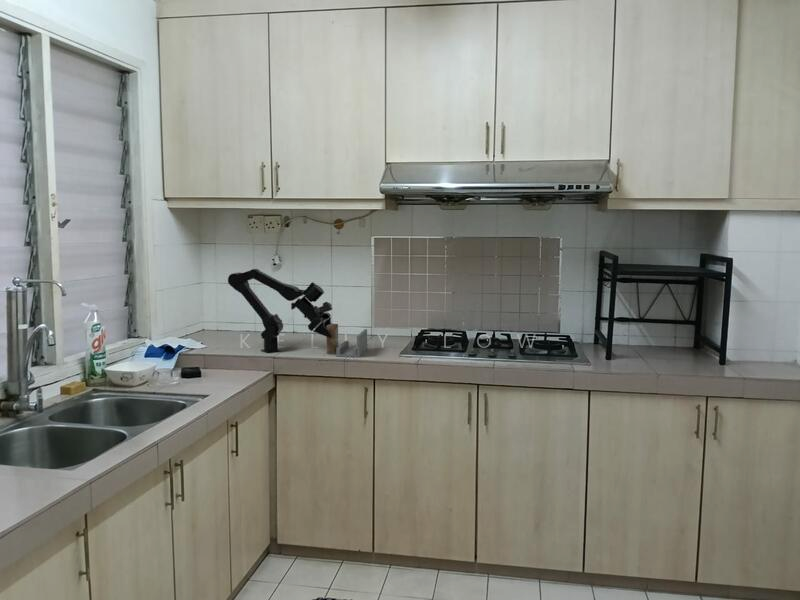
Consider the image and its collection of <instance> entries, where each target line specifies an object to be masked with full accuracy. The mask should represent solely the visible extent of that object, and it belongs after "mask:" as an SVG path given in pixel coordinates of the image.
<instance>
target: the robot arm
mask: <svg viewBox="0 0 800 600" xmlns="http://www.w3.org/2000/svg"><path fill="white" fill-rule="evenodd" d="M251 280H256V282H259V283H261V284H263V285H265V286H266V287H269V288H271V289H272V290H273V291H276V292H277V293H278V294H279V295H280V296H281V297H283V299H285V300H287V301H289V302H291V301H295V302H292V303H290V305H291V306H290V309H291V310H294V309H296V308H297V310H298V311H299V312H300V313H302V315H303V318H304V319H308V321H309V322H310V323H309V324H308V325H307V328H308V330H309V331H311V332H312V331H313V333H316V334H319V335H322V336H323V337H329V338H331V337H332V336H331V334H330V333H329V331H328V330H327V325H329V324H333V323H332V315H331V313H330V311H331V310H333V307H332V305H333V304H332V303H330V302H328V301H325V302H323V303H322V306H319V307H318V306H317V305H314V304H313V302H314V303H316V302H317V301H318V300H319V298H320V297H322V296H323V294H325V291H324V290H323V288H322V287H321V286H320V285H318V284H316V283H315V282H314V281H312V282H311V283H310V284H309V285H308V286H307V287H306V289H300V288H299V287H297V286H295V285H292V284H289V283H285V282H281V280H278V279H276V278H274V277H272V276H270V275H268V274H266V273H265V272H263V271H261V270H260V269H258V268H253V269H250V270H247V271H245V272H240V271H239V272H235V273H230V274H229V275H228V278H227V283H228V285H229V286H231V287H232V288H233V289H234V290H235V291H237V292H238V293H240V294H241V295H242V297H243V298H244V299H245V300H246V301H247V303H248V304H249V305H250V307H252V309H253V310H254V311H255V313H256V314H257V316H258V317H259V318H260V319H261V321H262V325H263V327H264V330H263V331H262V332H261V333H260V336H261V339H263V348H262V349H260V351H261V352H264V353H268V354H269V353H275V352H276V351H277V352H281V351H282V349H279V342H278V341H279V340H278V336H279V335H280V332H282V331H283V329H284V323H283V320H282V319H281V318H280V317H279V315H278V313H275V314H273V313H271V312H270V311H269V310H268V309H267V307H266V306H265V305H264V303H263V302H262V301H261V300H260V298H259V297H258V296H257V295H256V293H255V292H254V291H253V289H252V288H251V286H250V283H249V281H251ZM300 297H301V298H300Z"/></svg>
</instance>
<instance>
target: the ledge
mask: <svg viewBox="0 0 800 600" xmlns="http://www.w3.org/2000/svg"><path fill="white" fill-rule="evenodd" d="M349 342H350V341H349V340H344V342H342V343H341V344H340V345H338V348H336V353H335V356H336V357H337V358H361V357H362V356H363V354H365V352H366V351H367V350H368V329H367V328H365V329H363V330H362V331H361V332H359V334H357V335H356V346H350V343H349Z"/></svg>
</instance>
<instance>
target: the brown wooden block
mask: <svg viewBox="0 0 800 600" xmlns="http://www.w3.org/2000/svg"><path fill="white" fill-rule="evenodd" d="M327 330H328V331H329V333H330V334H331V336H332V337H331V338H329V337H326V336H325V337H326V354H328V355H329V354H330V355H331V354H332V355H336V348H338V347H339V324H338V323H332V324H329V325H327Z"/></svg>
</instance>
